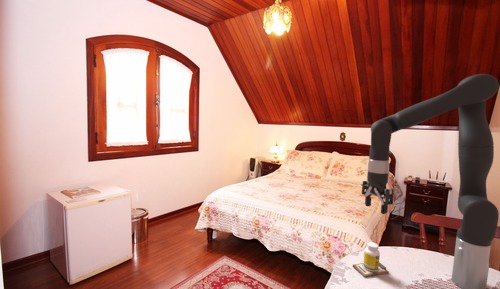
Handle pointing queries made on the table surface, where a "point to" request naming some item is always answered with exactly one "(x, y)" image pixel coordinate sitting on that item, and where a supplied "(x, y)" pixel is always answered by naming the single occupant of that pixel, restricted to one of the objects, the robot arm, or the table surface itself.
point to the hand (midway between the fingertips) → (375, 209)
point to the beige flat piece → (368, 273)
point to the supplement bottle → (371, 257)
